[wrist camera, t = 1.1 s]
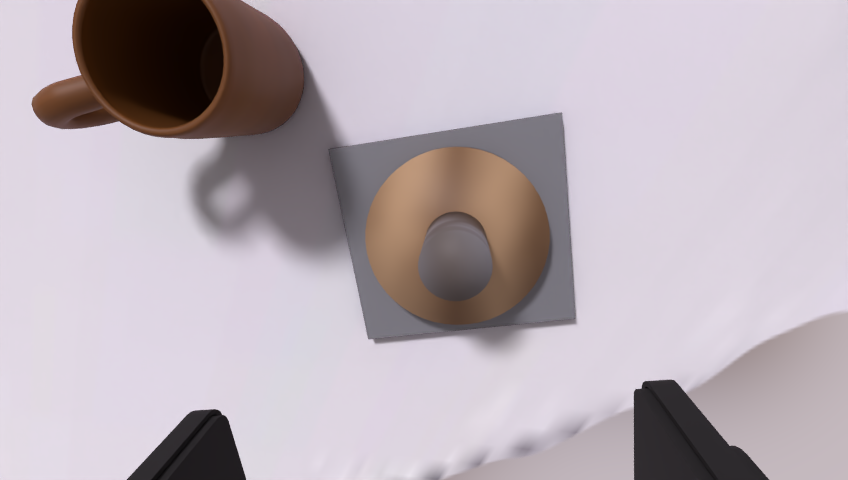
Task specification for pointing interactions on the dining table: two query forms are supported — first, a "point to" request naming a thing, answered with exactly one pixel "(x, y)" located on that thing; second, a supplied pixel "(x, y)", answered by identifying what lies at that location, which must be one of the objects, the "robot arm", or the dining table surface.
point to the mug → (176, 70)
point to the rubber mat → (511, 140)
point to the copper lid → (457, 235)
